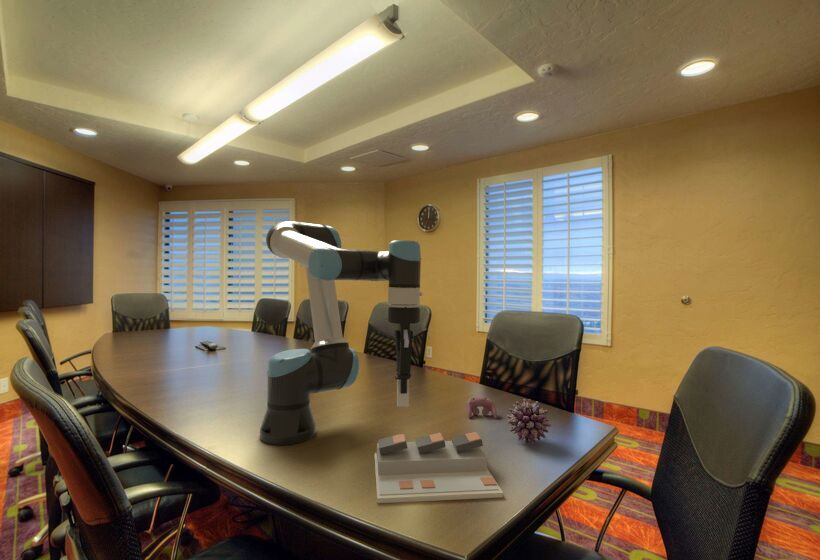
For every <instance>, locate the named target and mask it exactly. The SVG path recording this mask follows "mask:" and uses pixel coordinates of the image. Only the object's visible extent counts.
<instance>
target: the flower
mask: <svg viewBox="0 0 820 560" xmlns="http://www.w3.org/2000/svg"><path fill="white" fill-rule="evenodd" d="M515 403H516V404H512V406H513V408H510V407H509V408H508V411H509V412H510V413H511V414H507V416H506V417H507V418H508V419H507V424H510V425H511V428H510V429H509V432H511V433H513V435H515V434H517V436H518V438H517V441H521V440H524V439H525V440H524V441H525V443H528V442H529V441H530V444H531V445H533V444H535V439H537V440H538V441H541V438H543V439H545V438H547V436H546V435H545V433H547V434H548V433H549V430H548V429H547V428H548V427H552V424H551V423H548V422H549V421H550V419H549V418H548V417H547V414H548V413H549V411H548V410H547V409H545V410H544V408H543V407H542V408H541V405H540V404H539V401H535V403H532V401H531V399H525V398H523V402H522V403H520V402H519V401H516V402H515Z"/></svg>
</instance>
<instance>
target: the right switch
mask: <svg viewBox="0 0 820 560" xmlns="http://www.w3.org/2000/svg"><path fill="white" fill-rule="evenodd" d="M450 440H451V441H452V444H453V446H454V448H455V450H456V451H457V452H461V451H465V450H469V449H473V448H477V447H480V448H481V447H484V444H483V440H482V437H481V436H480V435H479V434H478V432H477V431H473V432H468V433H463V434H460V435H457V436H456V435H455V436H452V437H451V439H450Z"/></svg>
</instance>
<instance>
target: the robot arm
mask: <svg viewBox="0 0 820 560" xmlns="http://www.w3.org/2000/svg"><path fill="white" fill-rule="evenodd" d="M265 239H266V240H265V242H266V246H267V249H268V250H269V251H270V253H272V254H273V255H275V256H277V257H279V258H281V259H290V260H292V261H295V262H296V263H299V264H300V266H301V268H303V269H304V270H305V272H306V281H307V289H308V295H309V296H308V297H309V303H310V313H311V320H312V329H313V335H314V337H313V338H314V343H313V344H312V346H311V347H310V350H309V349H308V348H297V349H295V348H294V349H292V348H291V349H287V350H284V351H280V352H277V353H276V354H273V355H272V356H271V357H270V358H269V360H268V367H267V372H266V376H267V396H266V397H267V398H266V399H267V400H266V401H267V403H266V406H267V407H266V411H265V413H264V417H263V420H262V422H261V426H260V428H259V439H260V440H261V441H262V442H264V443H266V444H268V445H269V444H270V445H274V446H284V445H294V444H299V443H302V442H306V441H307V440H309V439H311V438H313V437H314V436H315V435H316V432H317V431H316V427H317V425H316V421H315V418H314V414H313V410H312V408H311V395H312V394H317V393H324V392H329V391H334V390H341V389H343V388H348V387H350V386H353V385H354V383H355V382H356V380H357V378H358V376H359V371H360V359H359V355H358V354H357V352H356V350H354V349H353V348H351V347H350V346H349V341H347V340H346V339H345V338H344V336H343V331H342V330H343V329H342V323H341V316H340V309H339V303H338V294H337V289H336V287H337V286H336V282H335V281H365V282H367V281H368V282H369V281H370V282H385V281H386V282H387V281H388V288H387V291H388V292H387V304H388V305H390V306H389V307H388V310H387V312H388V313H387V322H389V323H390V324H397V329H395V330H394V337H395V348H396V376H394V379H395V380H396V390H397V391H396V407H397V408H403V407H405V408H406V407H407V408H408V407H410V379H411V377H412V374H411V366H412V364H411V363H412V347H413V338H414V332H413V331H412V329H411V324H414V325H415V324H419V322H420V320H421V319H420V318H421V309H420V307H418V306H419V305H420V303H421V298H420V297H422V296H423V292H422V291H421V264H422V263H421V262H422V256H421V255H422V254H421V244H420V243H419V241H415V240H408V239H406V240H405V239H398V240H397V239H396V240H392V241H390V242H389V246H388V250H386V251H385V250H382V251H381V250H379V251H378V250H366V249H365V250H363V249H347V248H342V240H341V237H340V234H339V232H338V230H336V228H334V227H333V226H330V225H325V224H321V223H319V224H316V223H308V222H301V221H300V222H299V221H294V220H293V221H292V220H291V221H290V220H289V221H287V220H285V221H282V222H277V223H276V224H275V225H273V226H272V227H270V229H269V230H268V232H267V234H266V238H265Z"/></svg>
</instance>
